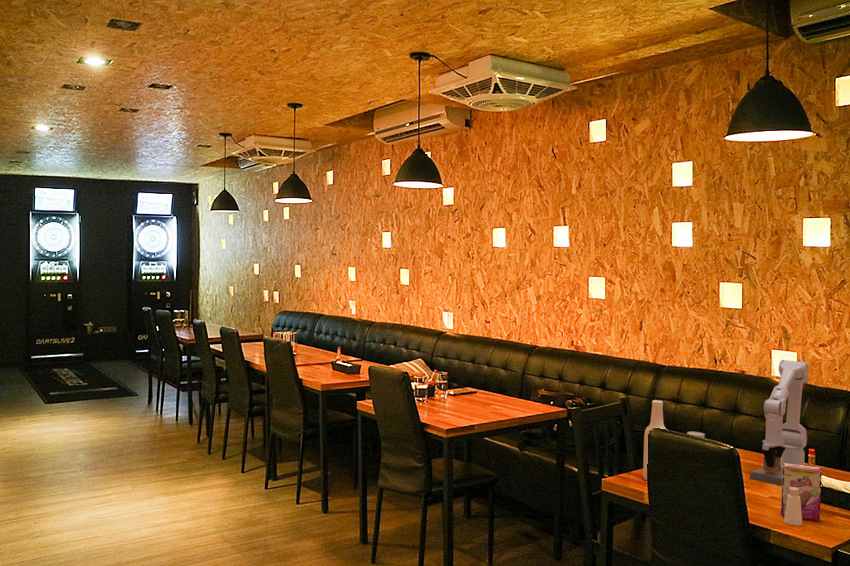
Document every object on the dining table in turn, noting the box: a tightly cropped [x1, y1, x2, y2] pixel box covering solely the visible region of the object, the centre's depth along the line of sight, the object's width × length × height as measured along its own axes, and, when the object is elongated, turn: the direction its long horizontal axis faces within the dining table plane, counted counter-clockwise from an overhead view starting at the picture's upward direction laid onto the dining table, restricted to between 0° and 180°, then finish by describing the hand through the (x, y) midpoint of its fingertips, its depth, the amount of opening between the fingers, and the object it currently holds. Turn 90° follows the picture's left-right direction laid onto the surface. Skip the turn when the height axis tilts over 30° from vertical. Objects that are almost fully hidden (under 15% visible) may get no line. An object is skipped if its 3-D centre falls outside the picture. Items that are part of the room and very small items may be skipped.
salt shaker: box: [783, 487, 803, 526], centre depth 221 cm, size 5×5×11 cm
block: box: [763, 456, 782, 472], centre depth 268 cm, size 4×4×5 cm
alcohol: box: [642, 399, 668, 481], centre depth 264 cm, size 9×9×30 cm
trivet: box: [749, 466, 782, 487], centre depth 268 cm, size 12×12×3 cm
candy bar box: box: [780, 463, 822, 522], centre depth 227 cm, size 11×5×16 cm, turn 65°
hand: (772, 466), depth 268 cm, fingers closed on block, 4 cm apart
